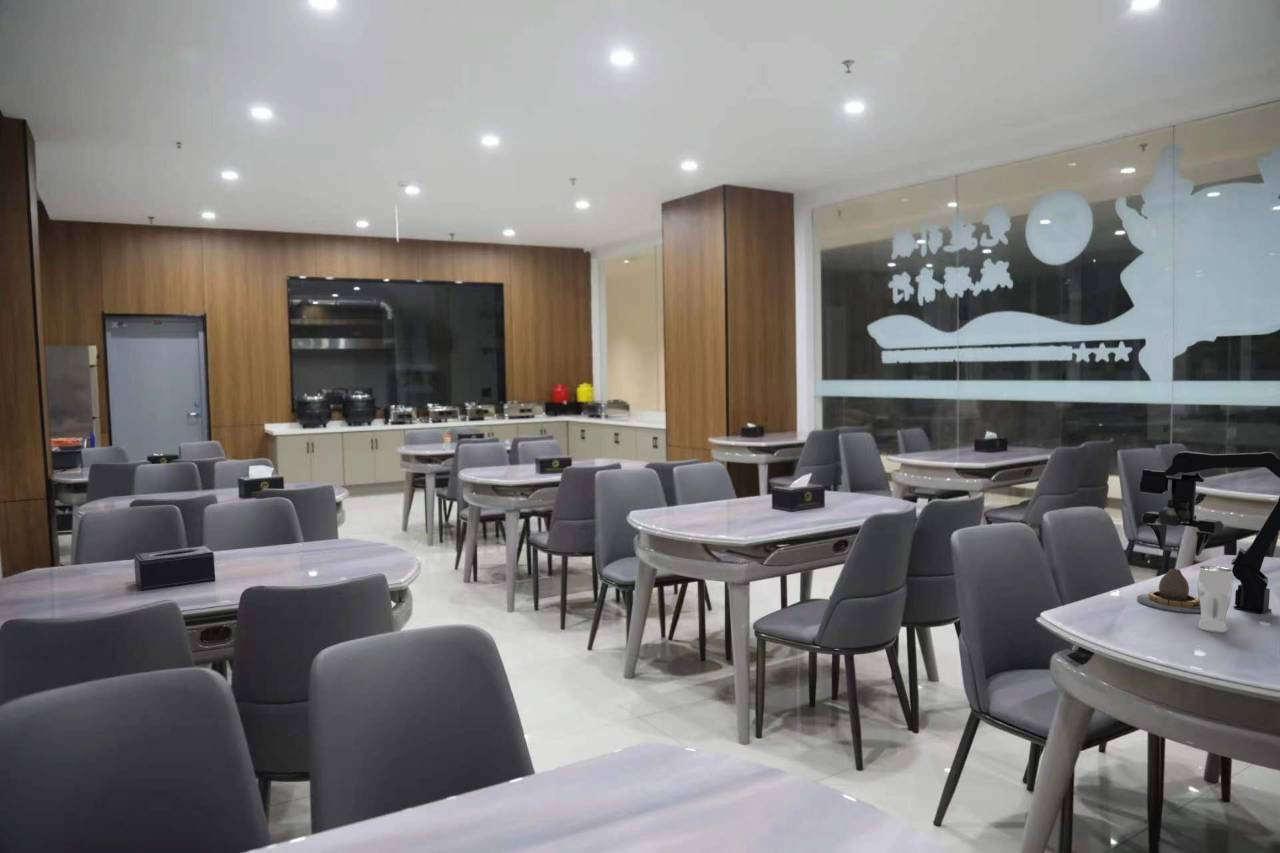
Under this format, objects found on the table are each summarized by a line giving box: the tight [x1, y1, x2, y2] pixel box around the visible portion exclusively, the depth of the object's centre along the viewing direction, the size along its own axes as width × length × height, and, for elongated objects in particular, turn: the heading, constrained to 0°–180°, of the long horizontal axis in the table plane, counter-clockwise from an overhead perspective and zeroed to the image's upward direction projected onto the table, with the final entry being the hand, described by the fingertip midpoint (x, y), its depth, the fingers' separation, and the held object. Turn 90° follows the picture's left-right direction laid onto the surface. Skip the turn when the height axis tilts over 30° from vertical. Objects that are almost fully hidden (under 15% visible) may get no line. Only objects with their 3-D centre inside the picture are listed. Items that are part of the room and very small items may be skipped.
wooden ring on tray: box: [1136, 590, 1200, 614], centre depth 231 cm, size 17×17×2 cm
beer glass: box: [1197, 565, 1233, 634], centre depth 208 cm, size 7×7×15 cm
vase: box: [1158, 568, 1190, 601], centre depth 231 cm, size 7×7×9 cm
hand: (1179, 552), depth 237 cm, fingers open, 9 cm apart
